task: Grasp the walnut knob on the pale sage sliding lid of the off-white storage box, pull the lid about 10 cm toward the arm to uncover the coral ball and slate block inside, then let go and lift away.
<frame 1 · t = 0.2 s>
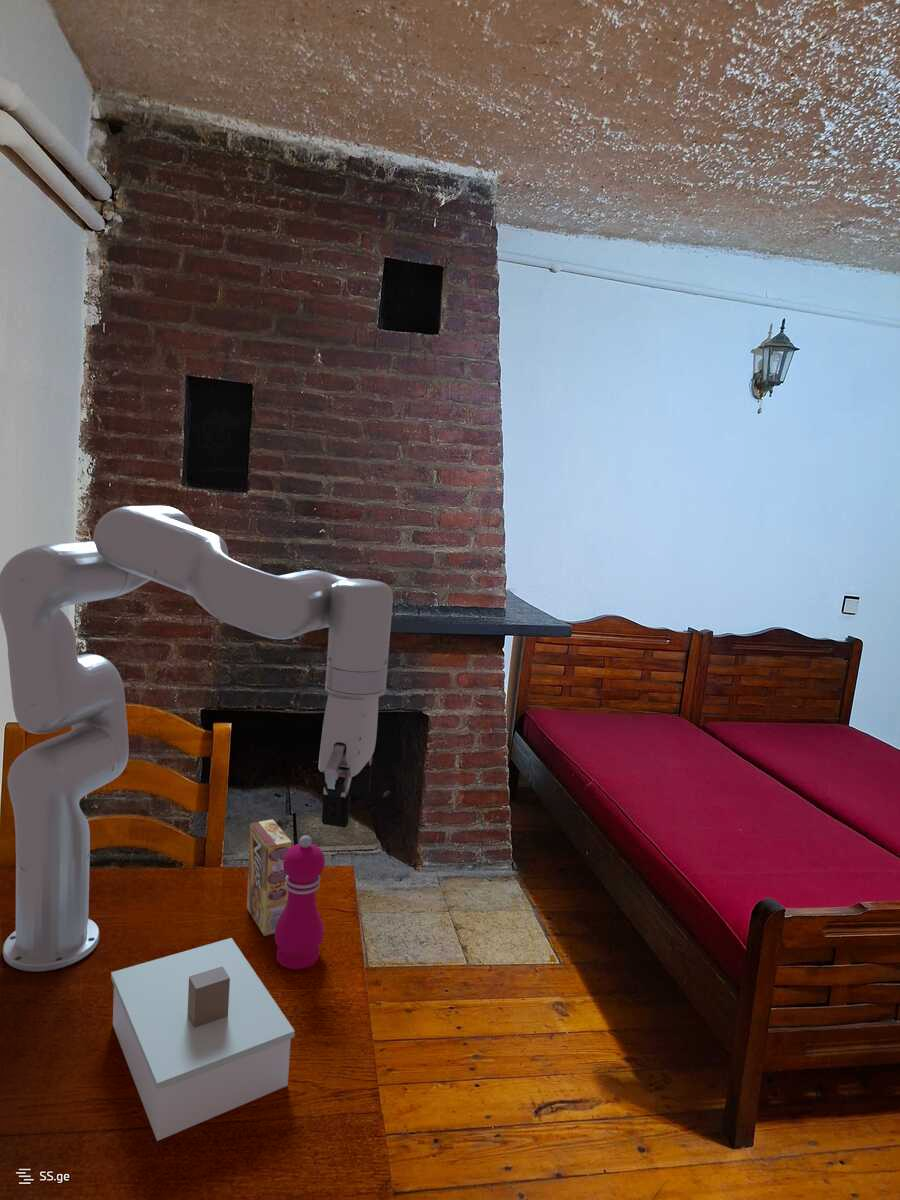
hand: (346, 808, 97), 31 cm above the table, tool pointing down, fingers open, 9 cm apart
candy box: (265, 920, 124), on the table
slate block: (233, 1069, 92), point 1 cm above the table, touching storage box
storage box: (196, 1059, 94), on the table
lid: (200, 984, 92), point 10 cm above the table, slide at 0.0 cm
pepper mill: (297, 961, 115), on the table
coral ball: (180, 1093, 88), point 1 cm above the table, touching storage box
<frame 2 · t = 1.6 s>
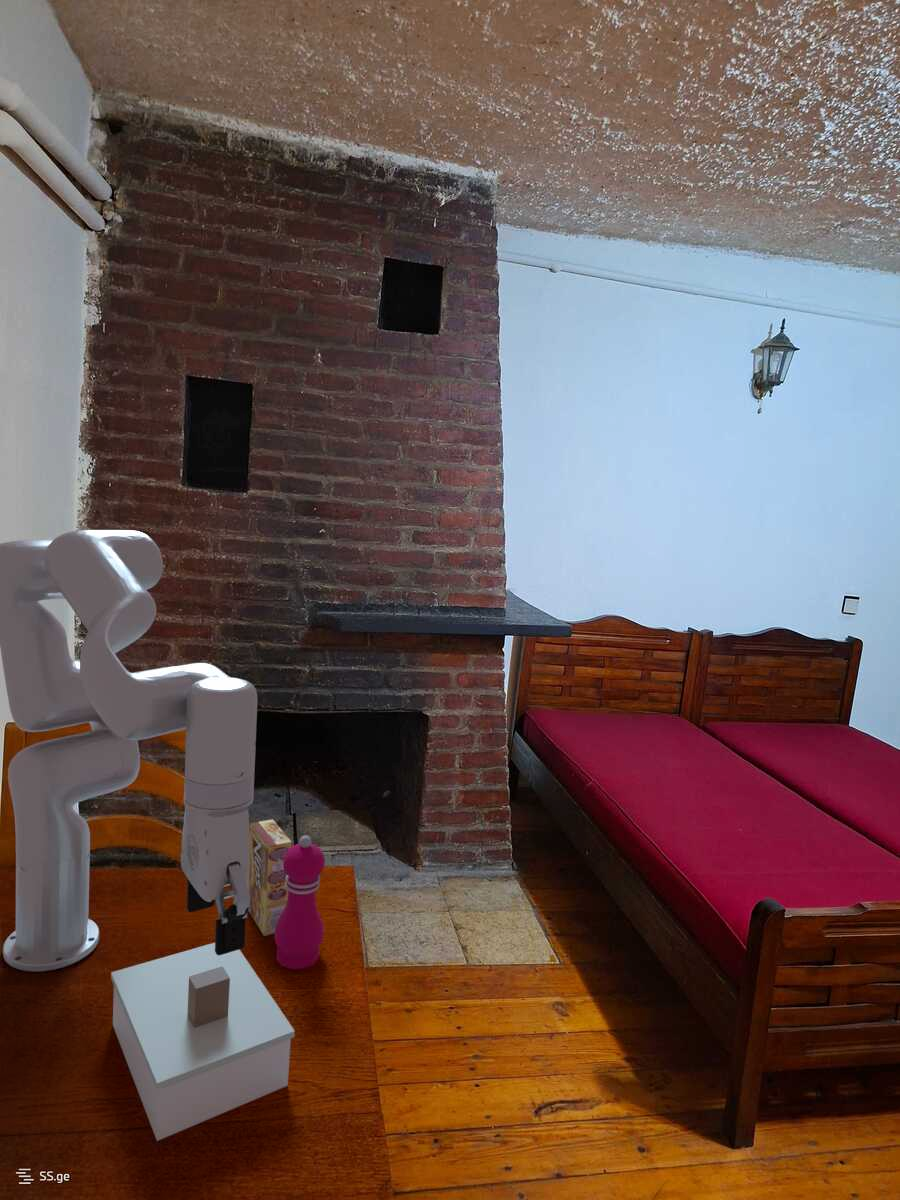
hand: (214, 928, 88), 20 cm above the table, tool pointing down, fingers open, 9 cm apart
nothing on the table moved.
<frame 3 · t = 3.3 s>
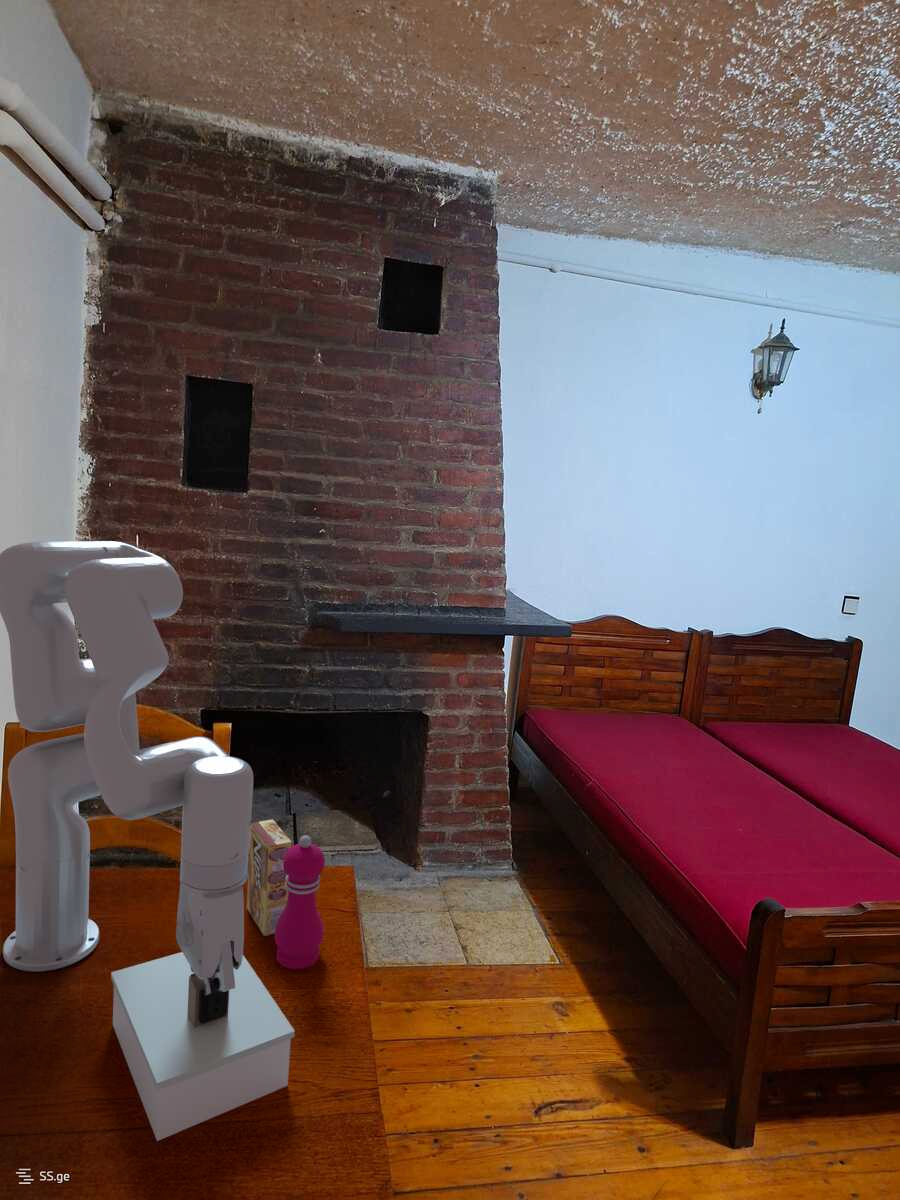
hand: (208, 1008, 90), 9 cm above the table, tool pointing down, fingers closed on lid, 2 cm apart
lid: (200, 984, 92), point 10 cm above the table, slide at 0.0 cm, touching gripper
everything else where it was.
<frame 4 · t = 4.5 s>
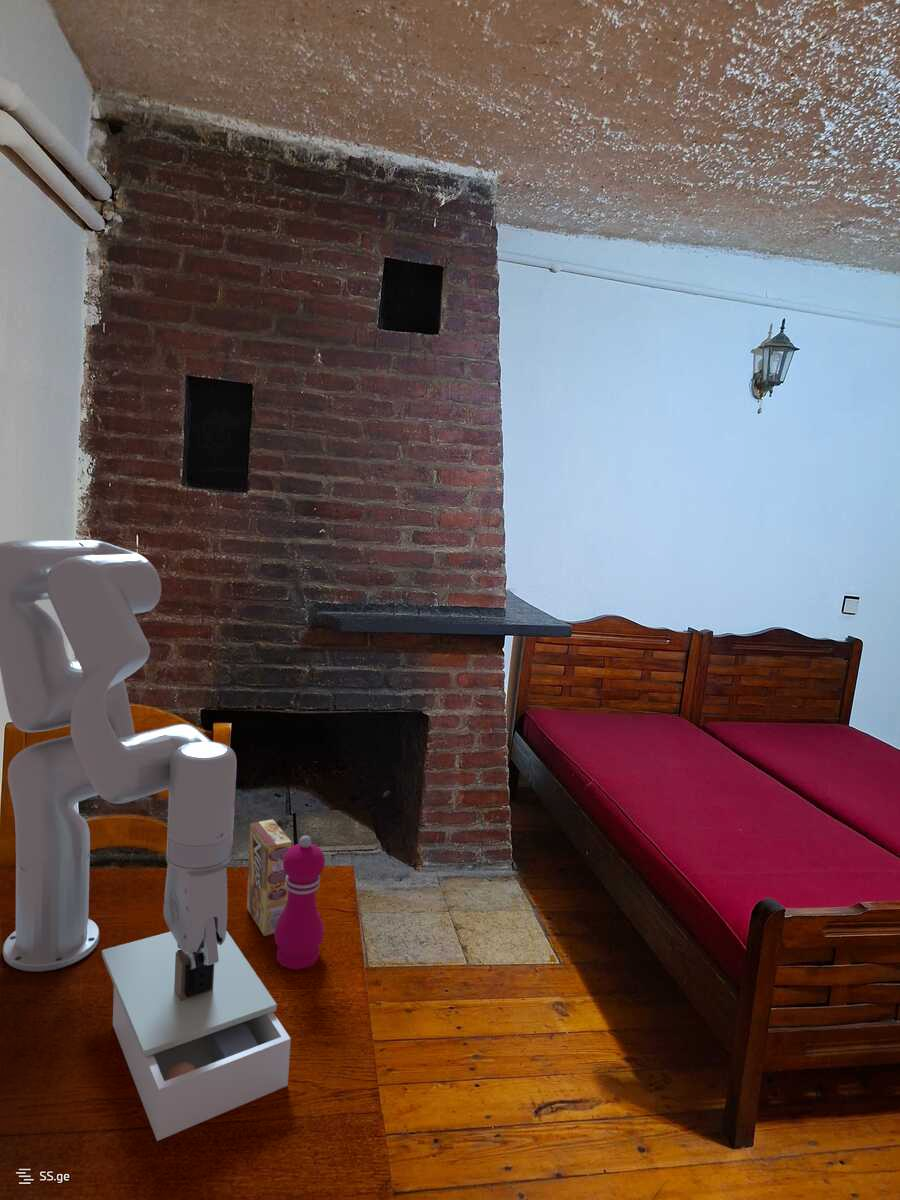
hand: (193, 983, 94), 9 cm above the table, tool pointing down, fingers closed on lid, 2 cm apart
lid: (186, 961, 97), point 10 cm above the table, slide at 5.2 cm, touching gripper
everything else where it was.
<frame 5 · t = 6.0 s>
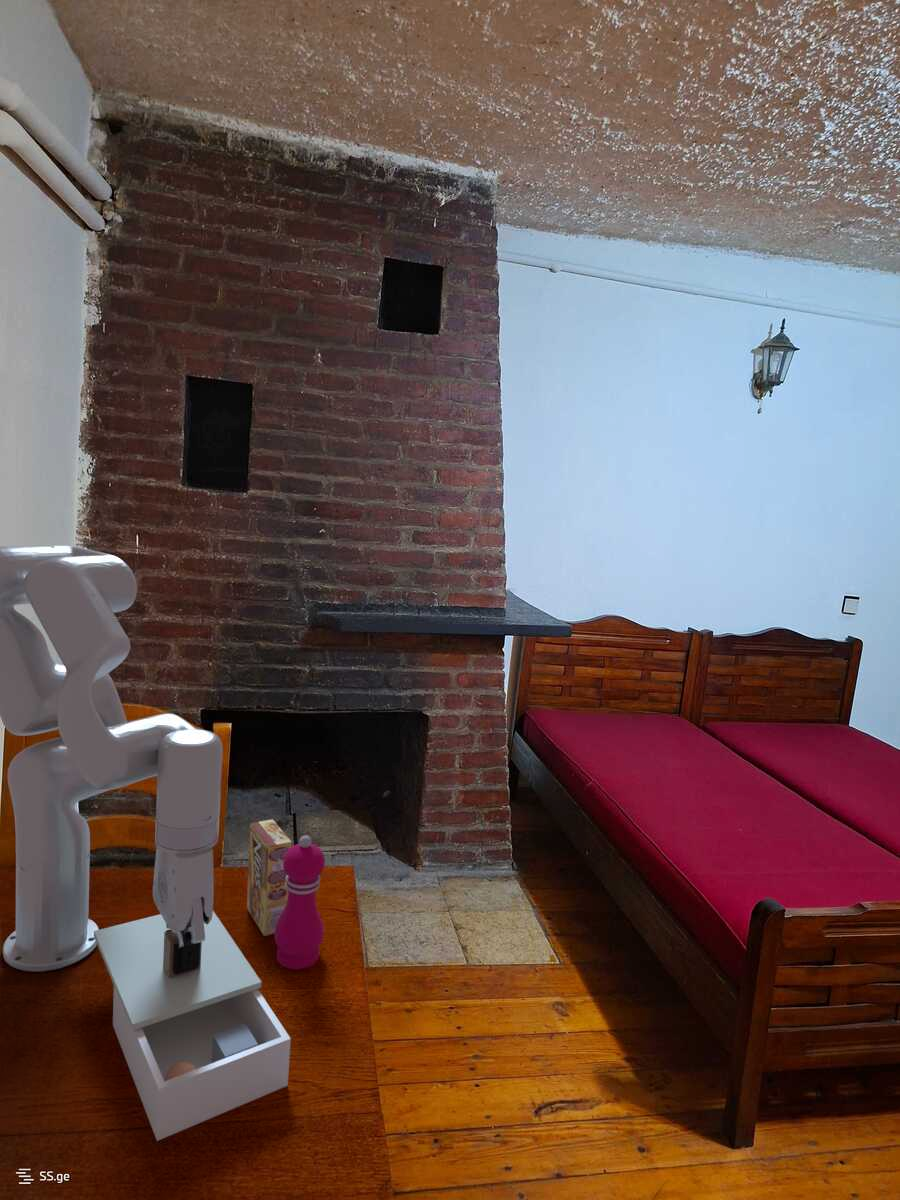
hand: (182, 962, 98), 9 cm above the table, tool pointing down, fingers closed on lid, 2 cm apart
lid: (175, 941, 100), point 10 cm above the table, slide at 10.0 cm, touching gripper
everything else where it was.
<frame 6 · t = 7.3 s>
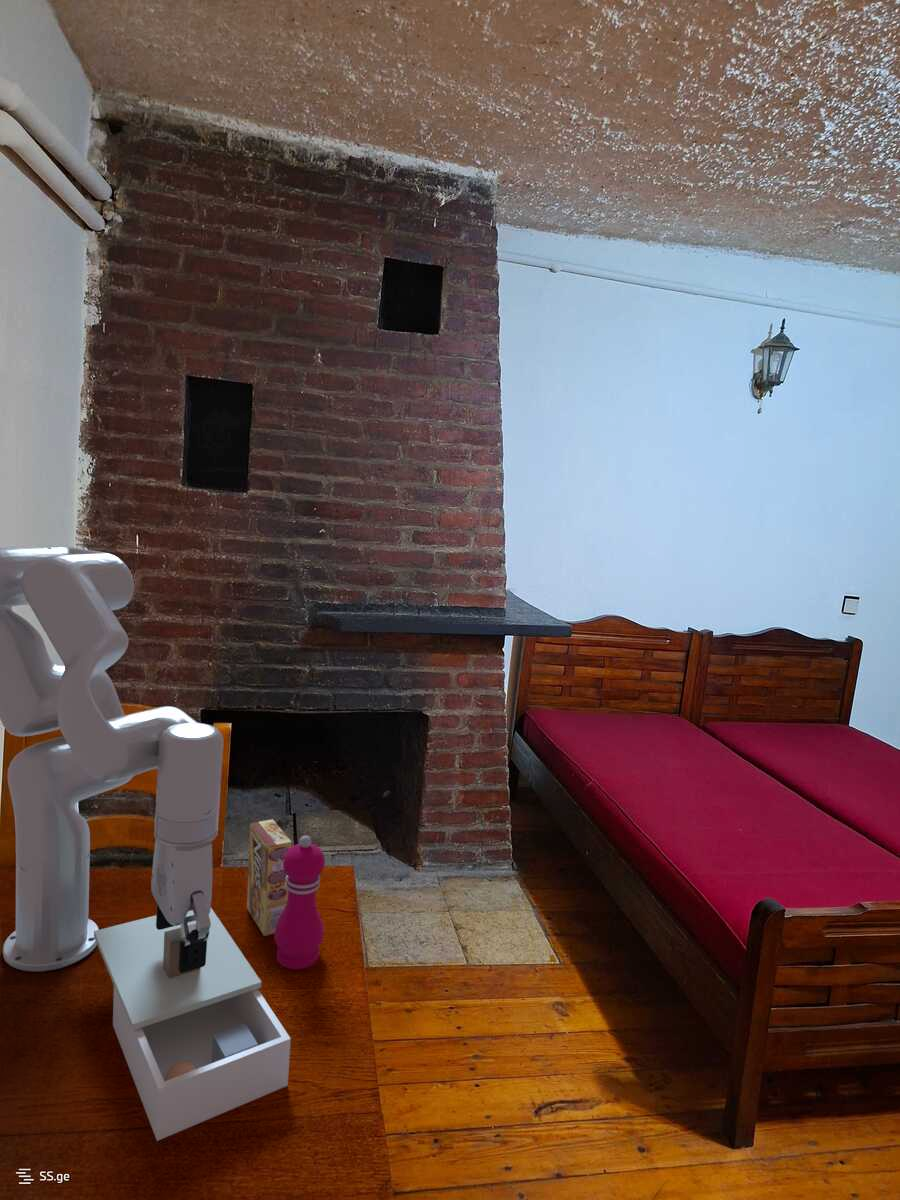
hand: (179, 946, 98), 11 cm above the table, tool pointing down, fingers open, 9 cm apart
lid: (175, 941, 100), point 10 cm above the table, slide at 10.0 cm
everything else where it was.
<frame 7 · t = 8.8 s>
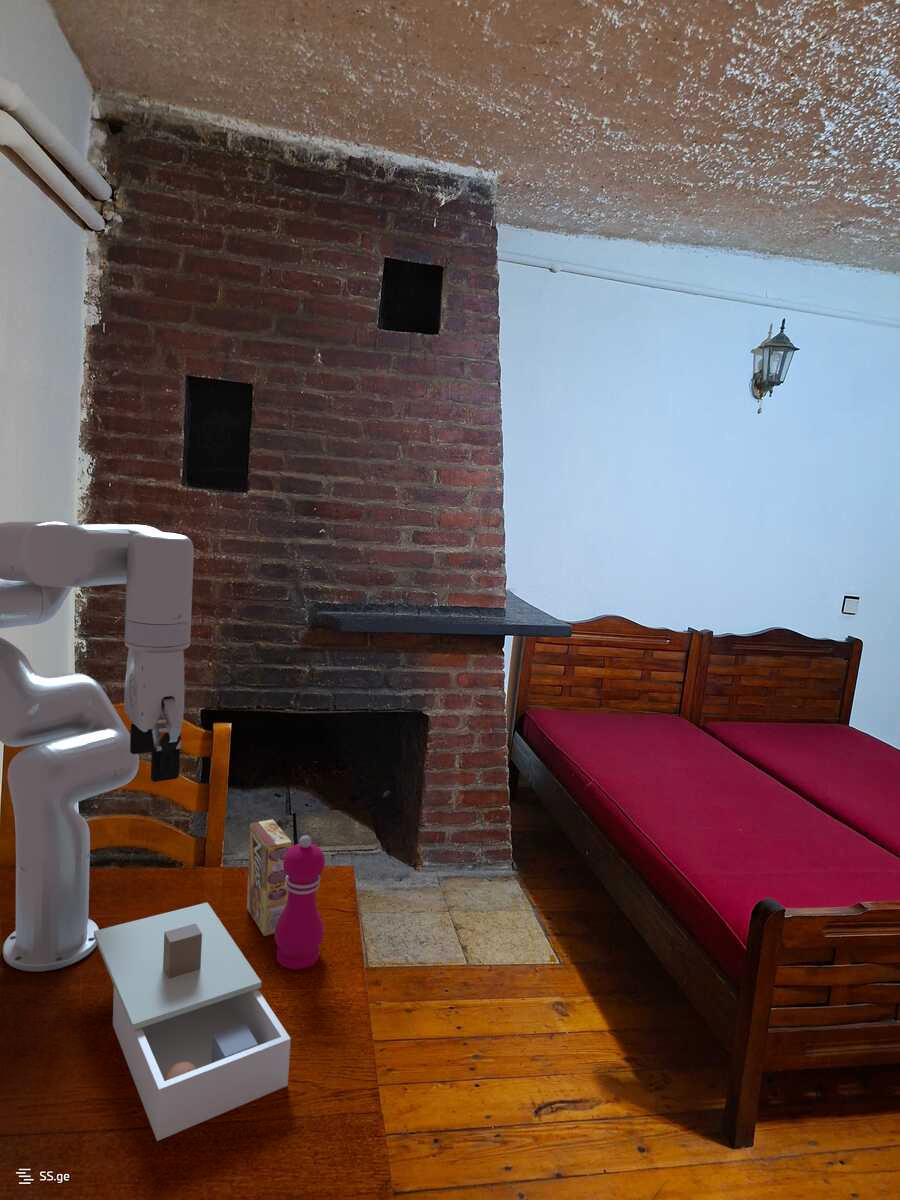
hand: (153, 765, 96), 34 cm above the table, tool pointing down, fingers open, 9 cm apart
nothing on the table moved.
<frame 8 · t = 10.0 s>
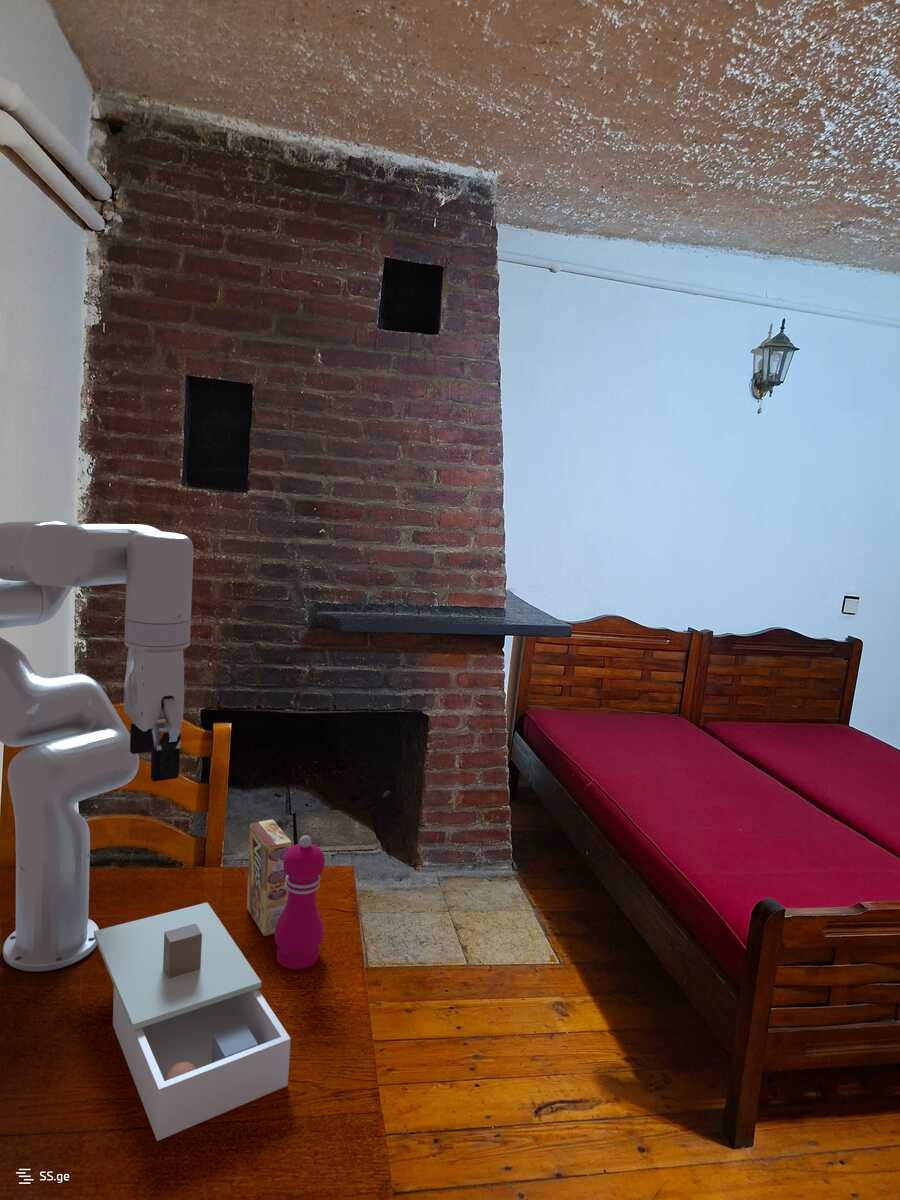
hand: (153, 765, 96), 34 cm above the table, tool pointing down, fingers open, 9 cm apart
nothing on the table moved.
at the end: lid slide at 10.0 cm; the gripper is holding nothing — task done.
